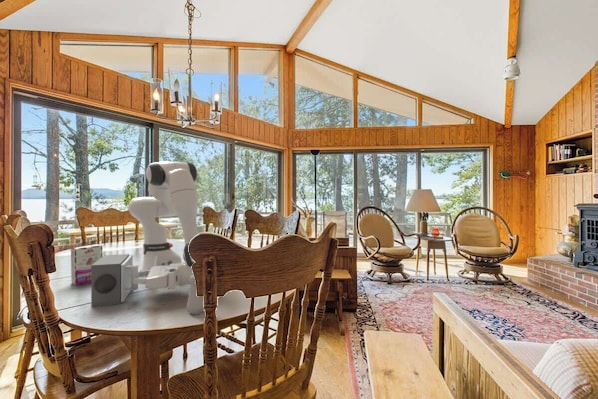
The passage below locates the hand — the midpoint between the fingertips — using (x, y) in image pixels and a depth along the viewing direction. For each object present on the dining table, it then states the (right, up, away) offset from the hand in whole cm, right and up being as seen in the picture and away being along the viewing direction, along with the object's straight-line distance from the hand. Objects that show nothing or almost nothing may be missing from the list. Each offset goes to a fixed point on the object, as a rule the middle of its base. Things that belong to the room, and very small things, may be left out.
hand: (135, 277), depth 115 cm
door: (-4, -8, +5) cm, 10 cm away
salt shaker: (+27, -9, -11) cm, 31 cm away
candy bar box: (-34, -8, +21) cm, 41 cm away
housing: (-11, -8, +2) cm, 14 cm away
